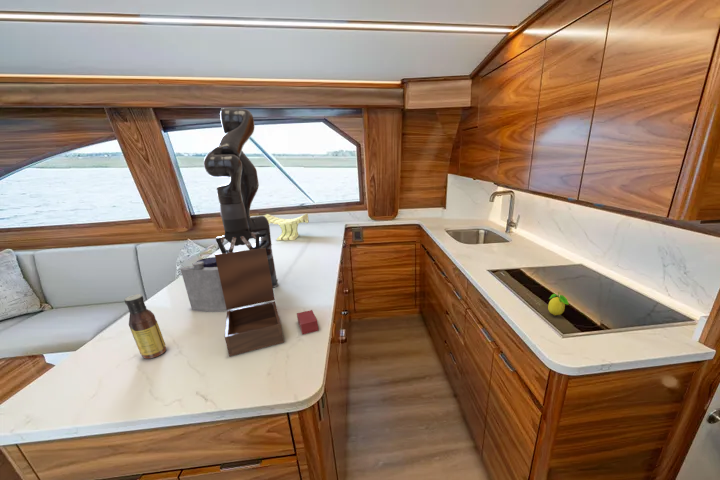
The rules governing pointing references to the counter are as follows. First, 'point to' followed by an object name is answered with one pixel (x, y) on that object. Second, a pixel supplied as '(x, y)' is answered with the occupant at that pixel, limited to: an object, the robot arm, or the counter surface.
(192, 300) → the hip flask
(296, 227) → the slatted curved stool
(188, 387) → the counter surface
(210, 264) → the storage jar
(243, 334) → the chest
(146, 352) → the sauce bottle
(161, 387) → the counter surface
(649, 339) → the counter surface
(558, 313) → the lemon
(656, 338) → the counter surface
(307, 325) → the book
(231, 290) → the chest lid
